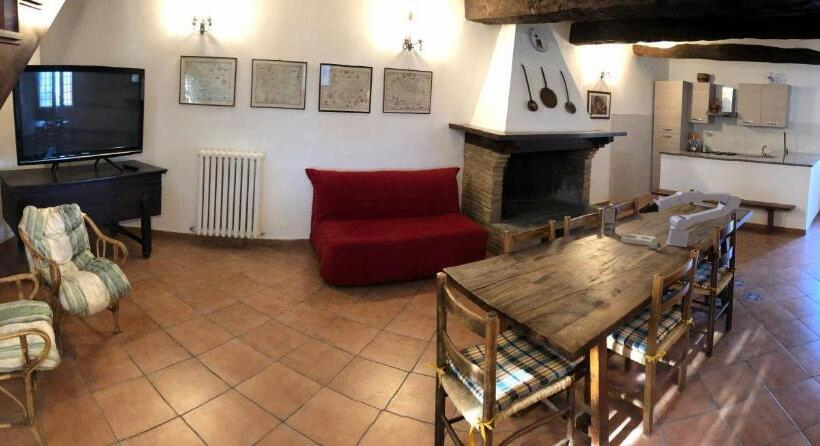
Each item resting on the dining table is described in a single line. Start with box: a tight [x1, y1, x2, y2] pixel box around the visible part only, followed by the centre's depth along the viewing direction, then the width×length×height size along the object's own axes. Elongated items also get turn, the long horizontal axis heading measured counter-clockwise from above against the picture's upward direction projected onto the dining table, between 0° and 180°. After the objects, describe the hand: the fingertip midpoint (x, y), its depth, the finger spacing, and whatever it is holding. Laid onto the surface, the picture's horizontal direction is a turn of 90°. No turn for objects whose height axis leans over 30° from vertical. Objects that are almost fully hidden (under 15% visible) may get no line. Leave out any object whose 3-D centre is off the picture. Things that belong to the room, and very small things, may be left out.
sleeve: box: [648, 236, 659, 251], centre depth 270 cm, size 4×4×6 cm
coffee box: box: [600, 204, 619, 237], centre depth 297 cm, size 9×6×16 cm
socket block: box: [620, 232, 656, 246], centre depth 284 cm, size 18×11×2 cm, turn 72°
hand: (641, 211), depth 277 cm, fingers open, 7 cm apart
